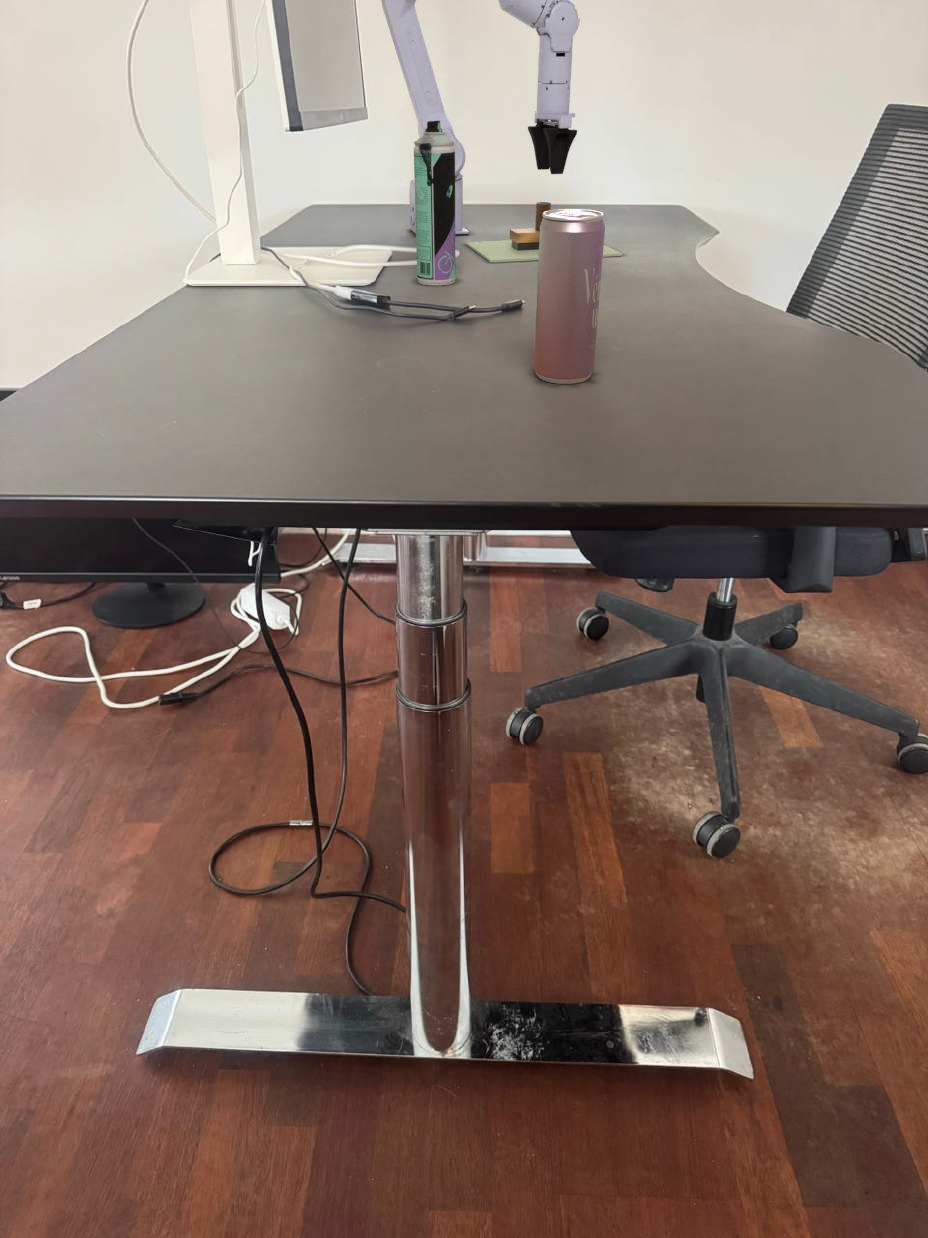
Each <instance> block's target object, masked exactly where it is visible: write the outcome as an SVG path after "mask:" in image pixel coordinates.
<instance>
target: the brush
mask: <svg viewBox="0 0 928 1238" xmlns="http://www.w3.org/2000/svg"><path fill="white" fill-rule="evenodd" d="M549 210H552V203H551V202H548V201H539V202H536V203H535V220H534V221H535V222H534V223H535V224H534V225H535V226H534V227H530V228H529V227H528V228H510V229H509V240H512V247H513V248H514V249H516V250H517V251H521V250H539V238H540V225H541V222H542V219H543V213H544V212H545V211H549Z"/></svg>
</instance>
